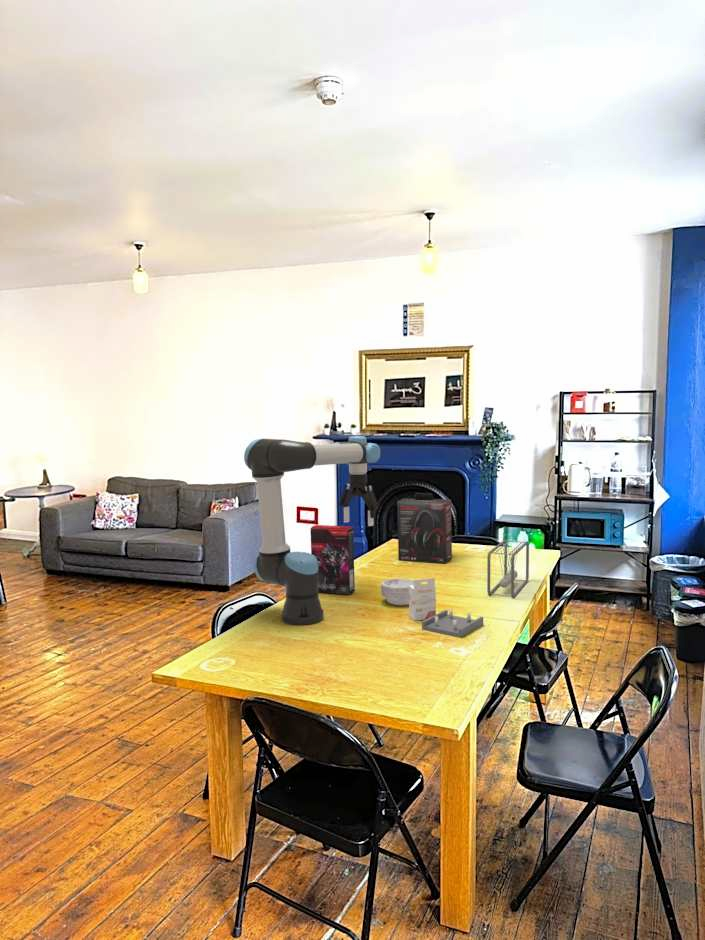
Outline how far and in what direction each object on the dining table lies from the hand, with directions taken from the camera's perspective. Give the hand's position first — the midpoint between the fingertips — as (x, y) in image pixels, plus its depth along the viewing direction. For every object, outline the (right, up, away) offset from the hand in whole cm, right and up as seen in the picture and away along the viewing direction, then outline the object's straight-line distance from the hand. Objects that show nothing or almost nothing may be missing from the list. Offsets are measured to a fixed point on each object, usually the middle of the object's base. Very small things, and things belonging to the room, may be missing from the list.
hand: (358, 524), depth 290 cm
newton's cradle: (+62, -27, -4) cm, 68 cm away
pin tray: (+32, -31, -52) cm, 68 cm away
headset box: (+33, -22, +51) cm, 64 cm away
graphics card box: (-10, -28, -5) cm, 30 cm away
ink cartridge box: (+23, -31, -41) cm, 56 cm away
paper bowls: (+16, -29, -21) cm, 39 cm away
